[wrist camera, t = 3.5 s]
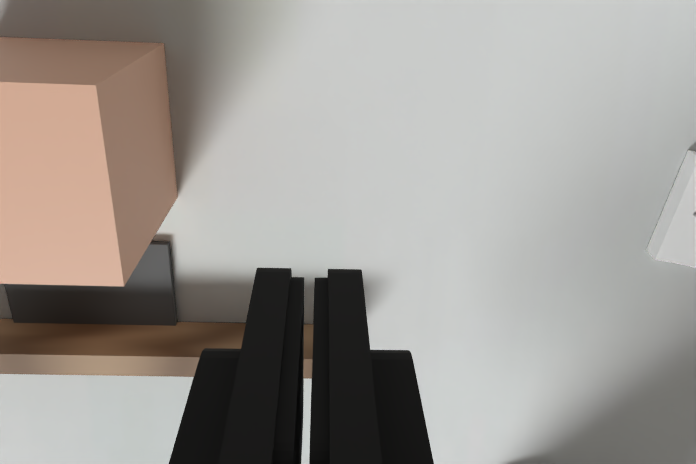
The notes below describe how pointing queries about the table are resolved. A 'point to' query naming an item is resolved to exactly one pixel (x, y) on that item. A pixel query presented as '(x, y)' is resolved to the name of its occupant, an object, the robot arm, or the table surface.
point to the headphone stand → (678, 219)
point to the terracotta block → (82, 159)
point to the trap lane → (113, 327)
